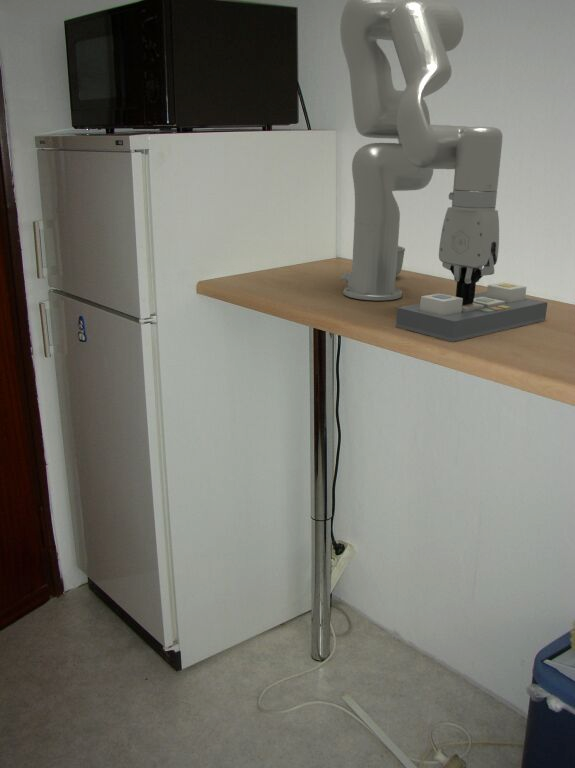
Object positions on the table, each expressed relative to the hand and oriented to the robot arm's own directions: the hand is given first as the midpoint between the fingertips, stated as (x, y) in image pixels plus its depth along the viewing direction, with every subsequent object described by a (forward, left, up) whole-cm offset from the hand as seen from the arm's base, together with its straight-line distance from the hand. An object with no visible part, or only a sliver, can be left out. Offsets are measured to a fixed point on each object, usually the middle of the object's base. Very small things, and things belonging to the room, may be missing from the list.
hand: (464, 303), depth 140 cm
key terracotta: (0, 0, -3) cm, 3 cm away
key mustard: (0, +13, -1) cm, 13 cm away
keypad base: (0, +3, -4) cm, 5 cm away
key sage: (0, +7, -3) cm, 7 cm away
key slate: (0, -6, -1) cm, 7 cm away
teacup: (-43, +22, -5) cm, 49 cm away
